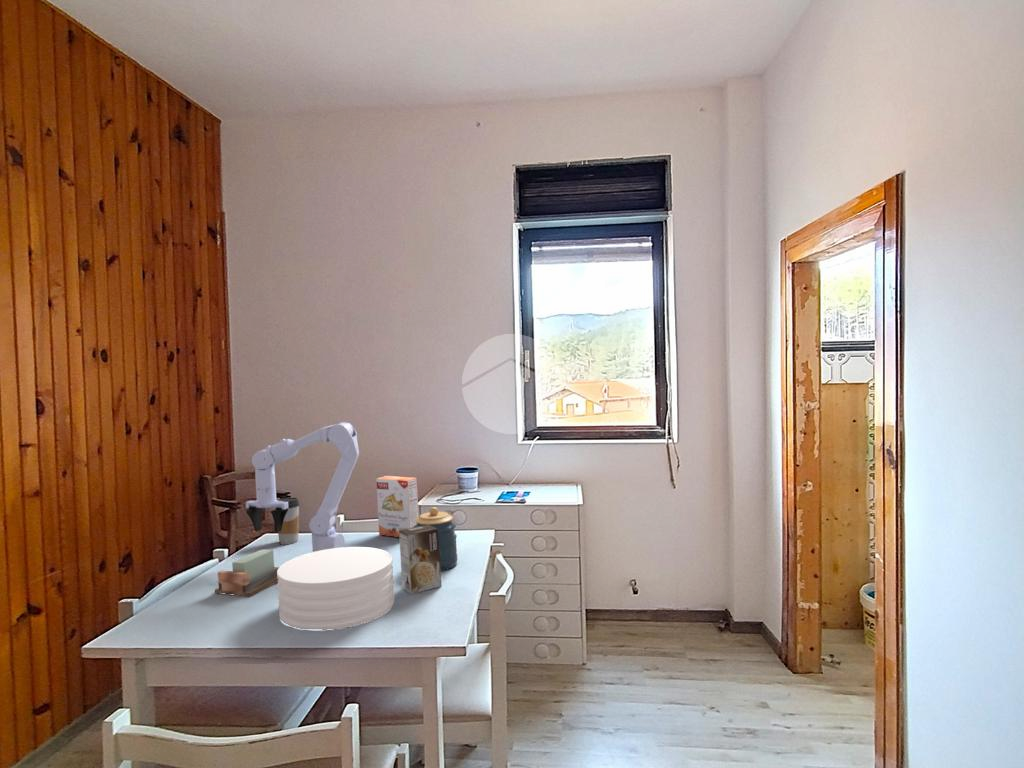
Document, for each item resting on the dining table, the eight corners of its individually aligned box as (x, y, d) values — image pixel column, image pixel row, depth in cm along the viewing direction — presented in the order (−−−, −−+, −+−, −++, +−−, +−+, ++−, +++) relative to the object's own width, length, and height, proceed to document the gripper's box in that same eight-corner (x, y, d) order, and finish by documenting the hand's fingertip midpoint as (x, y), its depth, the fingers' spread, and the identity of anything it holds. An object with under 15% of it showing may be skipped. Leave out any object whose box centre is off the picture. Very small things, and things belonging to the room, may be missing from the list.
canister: (407, 571, 183) (404, 512, 182) (424, 557, 195) (421, 501, 195) (449, 573, 180) (446, 512, 179) (463, 559, 192) (461, 502, 192)
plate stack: (279, 598, 166) (277, 556, 165) (384, 581, 176) (383, 541, 175) (279, 641, 140) (276, 590, 139) (403, 618, 149) (401, 571, 149)
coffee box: (431, 580, 174) (429, 523, 174) (442, 586, 169) (439, 528, 168) (401, 588, 169) (398, 529, 169) (411, 595, 164) (408, 534, 163)
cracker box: (378, 536, 222) (375, 478, 221) (389, 531, 227) (386, 475, 227) (409, 540, 216) (407, 480, 215) (420, 535, 221) (417, 476, 220)
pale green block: (274, 573, 183) (273, 550, 182) (245, 588, 171) (244, 563, 171) (263, 572, 184) (261, 549, 183) (233, 587, 172) (232, 562, 172)
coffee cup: (296, 545, 215) (293, 502, 215) (272, 545, 215) (270, 502, 215) (304, 538, 223) (302, 496, 223) (281, 538, 224) (279, 497, 223)
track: (297, 572, 186) (296, 552, 186) (250, 596, 167) (249, 574, 167) (264, 569, 190) (263, 550, 190) (214, 593, 171) (213, 571, 171)
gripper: (237, 490, 193) (240, 533, 193) (276, 491, 188) (279, 535, 189) (253, 485, 200) (256, 527, 200) (291, 486, 195) (294, 529, 196)
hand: (268, 530), depth 195 cm, fingers open, 7 cm apart
